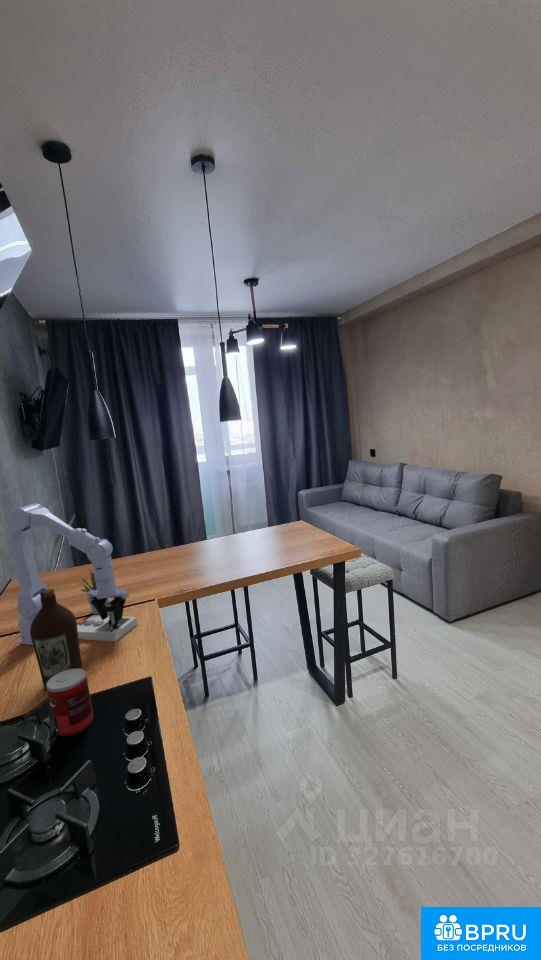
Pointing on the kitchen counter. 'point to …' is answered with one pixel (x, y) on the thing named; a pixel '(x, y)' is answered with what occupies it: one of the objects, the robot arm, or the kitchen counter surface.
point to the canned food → (70, 701)
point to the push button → (110, 615)
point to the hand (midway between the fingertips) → (112, 618)
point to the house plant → (90, 590)
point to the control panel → (104, 628)
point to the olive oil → (55, 638)
